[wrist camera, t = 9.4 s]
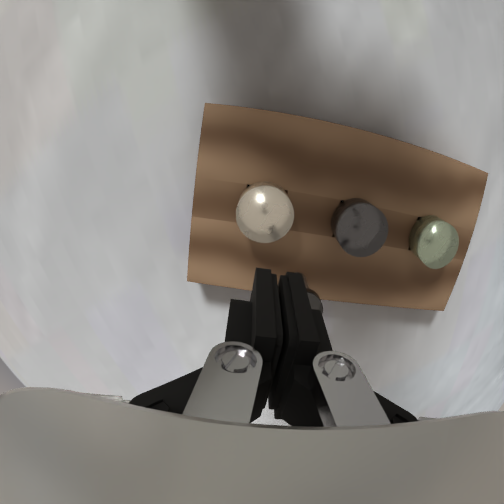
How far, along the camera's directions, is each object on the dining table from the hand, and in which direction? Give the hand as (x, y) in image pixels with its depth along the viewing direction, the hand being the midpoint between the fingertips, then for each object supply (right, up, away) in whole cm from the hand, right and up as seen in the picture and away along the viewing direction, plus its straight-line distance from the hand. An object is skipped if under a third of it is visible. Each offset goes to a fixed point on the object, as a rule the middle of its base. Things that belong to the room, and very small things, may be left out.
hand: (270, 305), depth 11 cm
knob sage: (+16, +4, +18) cm, 24 cm away
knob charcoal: (+8, +6, +17) cm, 20 cm away
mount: (+8, +6, +18) cm, 20 cm away
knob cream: (0, +7, +17) cm, 18 cm away
